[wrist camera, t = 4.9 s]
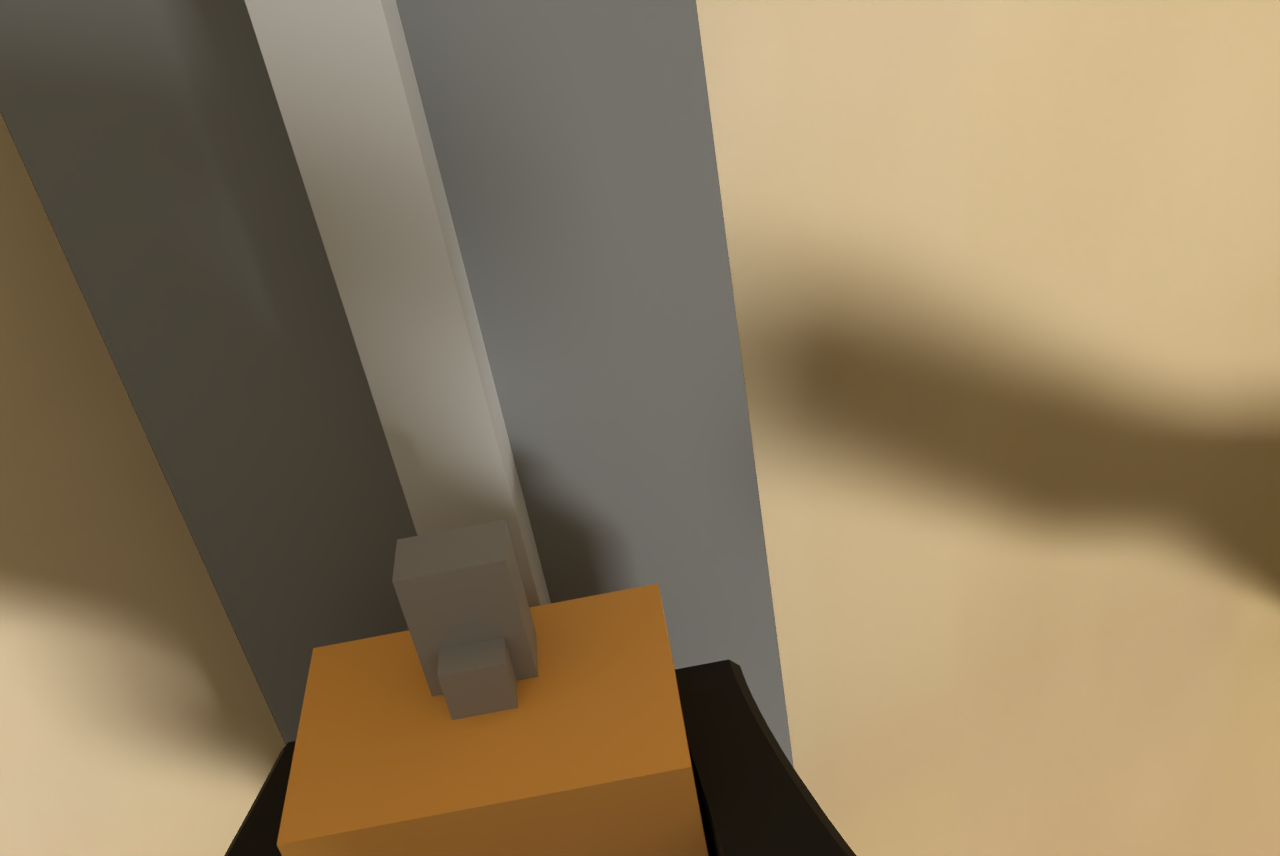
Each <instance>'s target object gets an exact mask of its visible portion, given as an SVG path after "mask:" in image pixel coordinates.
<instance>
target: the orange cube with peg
mask: <svg viewBox="0 0 1280 856" xmlns="http://www.w3.org/2000/svg"><path fill="white" fill-rule="evenodd" d="M392 582H393V585H394V588H395V591H396V594H397V597H398V600H399V602H400V605H401V608H402V611H403V614H404V617H405V620H406V623H407V626H408V628H409V630H408V631H402V632H397V633H392V634H386V635H381V636H376V637H370V638H365V639H360V640H354V641H349V642H344V643H338V644H333V645H328V646H322V647H317V648H313V652H312V657H311V663H310V668H309V673H308V679H307V684H306V690H305V695H304V700H303V706H302V711H301V716H300V722H299V727H298V733H297V738H296V743H295V749H294V754H293V759H292V765H291V770H290V776H289V781H288V786H287V792H286V797H285V802H284V808H283V813H282V819H281V824H280V829H279V835H278V840H277V847H278V849H279V851H280V853H281V855H282V856H710V855H709V850H708V845H707V840H706V835H705V830H704V824H703V819H702V814H701V809H700V804H699V798H698V793H697V788H696V783H695V778H694V773H693V767H692V762H691V757H690V752H689V747H688V742H687V736H686V730H685V725H684V719H683V713H682V708H681V702H680V696H679V691H678V685H677V679H676V673H675V667H674V662H673V657H672V652H671V647H670V641H669V636H668V631H667V626H666V621H665V615H664V610H663V605H662V600H661V595H660V589H659V584H652V585H647V586H642V587H636V588H631V589H626V590H620V591H615V592H610V593H604V594H599V595H594V596H588V597H583V598H578V599H572V600H567V601H562V602H557V603H551V604H546V605H541V606H535V607H530V608H529V605H528V601H527V597H526V594H525V590H524V586H523V583H522V579H521V575H520V571H519V568H518V564H517V560H516V557H515V553H514V549H513V546H512V542H511V538H510V535H509V531H508V527H507V524H506V520H505V519H504V520H499V521H494V522H488V523H483V524H478V525H473V526H467V527H462V528H457V529H451V530H446V531H441V532H435V533H430V534H425V535H419V536H414V537H409V538H403V539H398V540H397V544H396V553H395V562H394V571H393V579H392Z"/></svg>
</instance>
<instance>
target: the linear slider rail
mask: <svg viewBox="0 0 1280 856" xmlns="http://www.w3.org/2000/svg"><path fill="white" fill-rule="evenodd" d="M0 112H1V114H2V116H3V118H4V121H5V123H6V125H7V127H8V130H9V132H10V134H11V136H12V138H13V141H14V143H15V145H16V147H17V149H18V152H19V154H20V156H21V158H22V161H23V163H24V165H25V167H26V169H27V172H28V174H29V176H30V178H31V181H32V183H33V185H34V187H35V189H36V192H37V194H38V196H39V198H40V201H41V203H42V205H43V207H44V209H45V212H46V214H47V216H48V218H49V220H50V223H51V225H52V227H53V229H54V232H55V234H56V236H57V238H58V240H59V243H60V245H61V247H62V249H63V252H64V254H65V256H66V258H67V260H68V263H69V265H70V267H71V269H72V272H73V274H74V276H75V278H76V280H77V283H78V285H79V287H80V289H81V291H82V294H83V296H84V298H85V300H86V303H87V305H88V307H89V309H90V311H91V314H92V316H93V318H94V320H95V323H96V325H97V327H98V329H99V331H100V334H101V336H102V338H103V340H104V343H105V345H106V347H107V349H108V351H109V354H110V356H111V358H112V360H113V362H114V365H115V367H116V369H117V371H118V374H119V376H120V378H121V380H122V382H123V385H124V387H125V389H126V391H127V394H128V396H129V398H130V400H131V402H132V405H133V407H134V409H135V411H136V414H137V416H138V418H139V420H140V422H141V425H142V427H143V429H144V431H145V433H146V436H147V438H148V440H149V442H150V445H151V447H152V449H153V451H154V453H155V456H156V458H157V460H158V462H159V465H160V467H161V469H162V471H163V473H164V476H165V478H166V480H167V482H168V485H169V487H170V489H171V491H172V493H173V496H174V498H175V500H176V502H177V504H178V507H179V509H180V511H181V513H182V516H183V518H184V520H185V522H186V524H187V527H188V529H189V531H190V533H191V536H192V538H193V540H194V542H195V544H196V547H197V549H198V551H199V553H200V555H201V558H202V560H203V562H204V564H205V567H206V569H207V571H208V573H209V575H210V578H211V580H212V582H213V584H214V587H215V589H216V591H217V593H218V595H219V598H220V600H221V602H222V604H223V607H224V609H225V611H226V613H227V615H228V618H229V620H230V622H231V624H232V626H233V629H234V631H235V633H236V635H237V638H238V640H239V642H240V644H241V646H242V649H243V651H244V653H245V655H246V658H247V660H248V662H249V664H250V666H251V669H252V671H253V673H254V675H255V678H256V680H257V682H258V684H259V686H260V689H261V691H262V693H263V695H264V697H265V700H266V702H267V704H268V706H269V709H270V711H271V713H272V715H273V717H274V720H275V722H276V724H277V726H278V729H279V731H280V733H281V735H282V737H283V740H284V742H285V744H287V743H288V742H292V741H296V738H297V733H298V727H299V722H300V716H301V711H302V706H303V700H304V695H305V690H306V684H307V679H308V673H309V668H310V663H311V657H312V652H313V648H317V647H322V646H328V645H333V644H338V643H344V642H349V641H354V640H360V639H365V638H370V637H376V636H381V635H386V634H392V633H397V632H402V631H408V630H409V628H408V626H407V623H406V620H405V617H404V614H403V611H402V608H401V605H400V602H399V600H398V597H397V594H396V591H395V588H394V585H393V582H392V579H393V571H394V562H395V553H396V544H397V540H398V539H403V538H409V537H414V536H419V535H425V534H430V533H435V532H441V531H446V530H451V529H457V528H462V527H467V526H473V525H478V524H483V523H488V522H494V521H499V520H504V519H505V520H506V524H507V527H508V531H509V535H510V538H511V542H512V546H513V549H514V553H515V557H516V560H517V564H518V568H519V571H520V575H521V579H522V583H523V586H524V590H525V594H526V597H527V601H528V605H529V608H530V607H535V606H541V605H546V604H551V603H557V602H562V601H567V600H572V599H578V598H583V597H588V596H594V595H599V594H604V593H610V592H615V591H620V590H626V589H631V588H636V587H642V586H647V585H652V584H659V589H660V595H661V600H662V605H663V610H664V615H665V621H666V626H667V631H668V636H669V641H670V647H671V652H672V657H673V662H674V667H675V669H680V668H685V667H691V666H696V665H701V664H707V663H712V662H717V661H723V660H728V659H729V660H731V661H733V662H734V663H736V664H738V665H740V667H741V670H742V673H743V675H744V678H745V680H746V683H747V685H748V687H749V689H750V692H751V694H752V696H753V698H754V700H755V702H756V704H757V706H758V708H759V710H760V712H761V714H762V716H763V718H764V719H765V721H766V723H767V725H768V727H769V728H770V730H771V732H772V733H773V735H774V737H775V739H776V740H777V742H778V744H779V745H780V747H781V749H782V750H783V752H784V754H785V755H786V757H787V758H788V760H789V762H790V763H791V765H792V766H793V759H792V751H791V743H790V736H789V728H788V720H787V712H786V704H785V696H784V688H783V681H782V673H781V665H780V657H779V649H778V641H777V634H776V626H775V618H774V610H773V602H772V594H771V587H770V579H769V571H768V563H767V555H766V547H765V540H764V532H763V524H762V516H761V508H760V500H759V492H758V485H757V477H756V469H755V461H754V453H753V445H752V438H751V430H750V422H749V414H748V406H747V398H746V391H745V383H744V375H743V367H742V359H741V351H740V344H739V336H738V328H737V320H736V312H735V304H734V297H733V289H732V281H731V273H730V265H729V257H728V249H727V242H726V234H725V226H724V218H723V210H722V202H721V195H720V187H719V179H718V171H717V163H716V155H715V148H714V140H713V132H712V124H711V116H710V108H709V101H708V93H707V85H706V77H705V69H704V61H703V53H702V46H701V38H700V30H699V22H698V14H697V6H696V0H0ZM793 768H794V767H793Z"/></svg>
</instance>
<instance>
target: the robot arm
mask: <svg viewBox="0 0 1280 856" xmlns="http://www.w3.org/2000/svg"><path fill="white" fill-rule="evenodd" d="M675 673H676V679H677V685H678V691H679V696H680V702H681V708H682V713H683V719H684V725H685V730H686V736H687V742H688V747H689V752H690V757H691V762H692V767H693V773H694V778H695V783H696V788H697V793H698V798H699V804H700V809H701V814H702V819H703V824H704V830H705V835H706V840H707V845H708V850H709V855H710V856H856V855H855V853H854V852H853V851H852V849H851V848H850V847H849V846H848V844H847V843H846V842H845V840H844V839H843V838H842V836H841V835H840V834H839V832H838V831H837V830H836V828H835V827H834V826H833V824H832V823H831V822H830V820H829V819H828V818H827V816H826V815H825V813H824V812H823V810H822V809H821V807H820V806H819V805H818V803H817V802H816V800H815V799H814V797H813V796H812V794H811V793H810V791H809V790H808V789H807V787H806V786H805V784H804V783H803V781H802V780H801V778H800V777H799V776H798V774H797V773H796V771H795V769H794V768H793V766H792V765H791V763H790V762H789V760H788V758H787V757H786V755H785V754H784V752H783V750H782V749H781V747H780V745H779V744H778V742H777V740H776V739H775V737H774V735H773V733H772V732H771V730H770V728H769V727H768V725H767V723H766V721H765V719H764V718H763V716H762V714H761V712H760V710H759V708H758V706H757V704H756V702H755V700H754V698H753V696H752V694H751V692H750V689H749V687H748V685H747V683H746V680H745V678H744V675H743V673H742V670H741V667H740V665H738V664H736V663H734V662H733V661H731V660H729V659H728V660H723V661H717V662H712V663H707V664H701V665H696V666H691V667H685V668H680V669H675ZM295 743H296V741H292V742H288V743H287V744H286V746H285V747H284V748H283V750H282V751H281V753H280V755H279V756H278V758H277V760H276V762H275V764H274V766H273V768H272V769H271V771H270V773H269V775H268V777H267V779H266V781H265V782H264V784H263V786H262V788H261V790H260V792H259V794H258V796H257V797H256V799H255V801H254V803H253V805H252V807H251V809H250V810H249V812H248V814H247V816H246V818H245V820H244V821H243V823H242V825H241V827H240V829H239V830H238V832H237V834H236V836H235V838H234V839H233V841H232V843H231V845H230V846H229V848H228V850H227V852H226V854H225V855H224V856H282V855H281V853H280V851H279V849H278V847H277V840H278V835H279V829H280V824H281V819H282V813H283V808H284V802H285V797H286V792H287V786H288V781H289V776H290V770H291V765H292V759H293V754H294V749H295Z"/></svg>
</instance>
